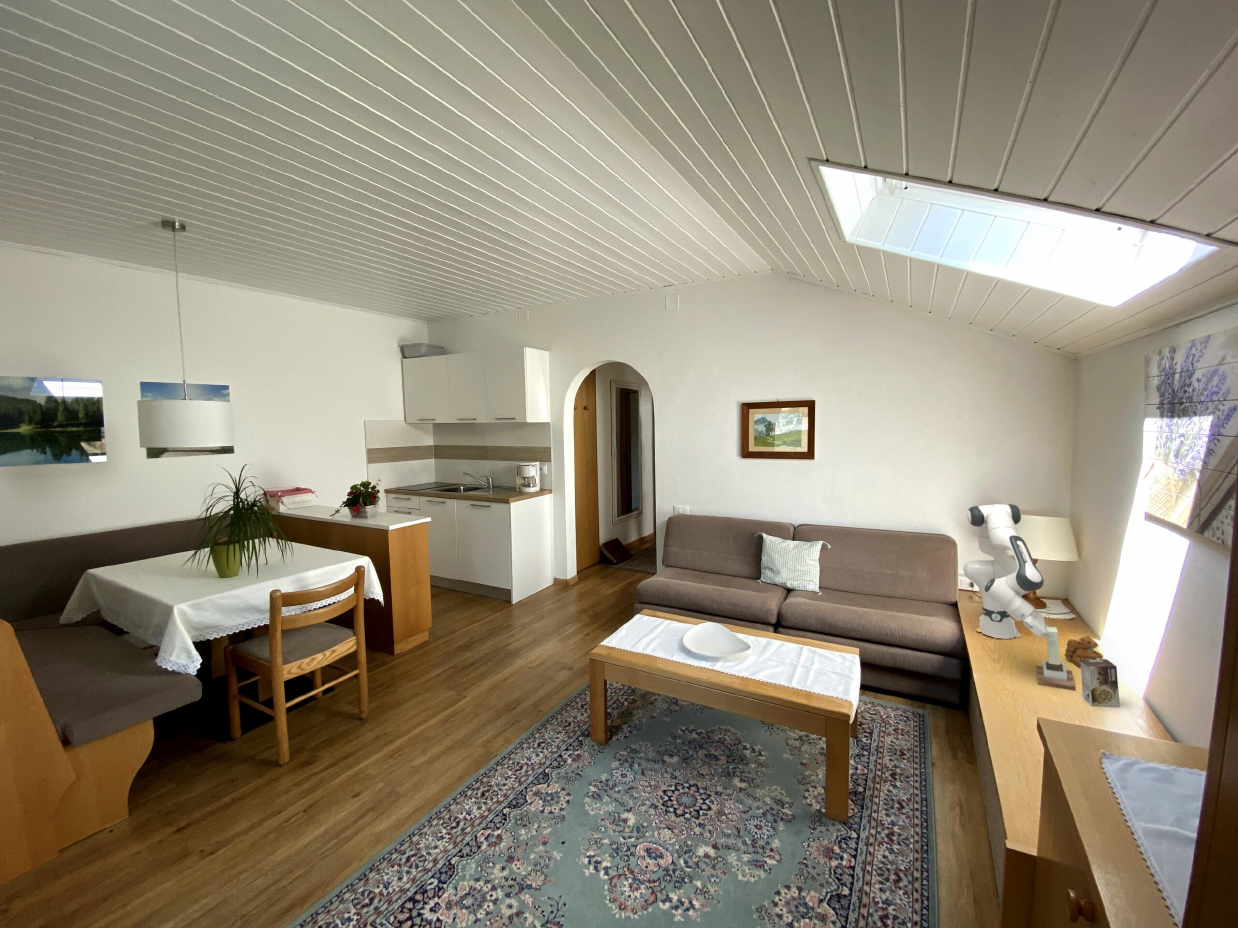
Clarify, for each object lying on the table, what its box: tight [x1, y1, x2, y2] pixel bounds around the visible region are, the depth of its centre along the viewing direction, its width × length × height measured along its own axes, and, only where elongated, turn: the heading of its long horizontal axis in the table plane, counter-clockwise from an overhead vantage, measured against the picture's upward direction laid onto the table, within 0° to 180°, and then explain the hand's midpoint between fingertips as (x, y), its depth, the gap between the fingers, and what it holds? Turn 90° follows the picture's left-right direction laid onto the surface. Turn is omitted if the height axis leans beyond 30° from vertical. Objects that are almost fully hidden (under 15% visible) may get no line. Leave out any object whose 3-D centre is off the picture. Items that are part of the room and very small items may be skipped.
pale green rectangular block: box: [1046, 625, 1061, 665], centre depth 222 cm, size 6×4×14 cm, turn 143°
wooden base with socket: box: [1036, 660, 1076, 691], centre depth 223 cm, size 16×12×6 cm
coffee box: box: [1080, 658, 1121, 707], centre depth 203 cm, size 9×6×16 cm
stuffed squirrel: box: [1064, 635, 1104, 669], centre depth 233 cm, size 10×14×13 cm
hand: (1052, 636), depth 222 cm, fingers closed on pale green rectangular block, 6 cm apart
